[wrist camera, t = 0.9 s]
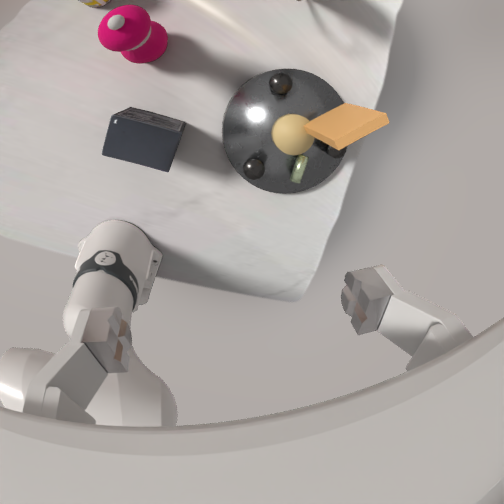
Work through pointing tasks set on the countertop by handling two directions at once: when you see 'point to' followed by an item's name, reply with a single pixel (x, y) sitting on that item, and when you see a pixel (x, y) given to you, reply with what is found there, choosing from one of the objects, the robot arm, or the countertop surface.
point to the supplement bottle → (94, 3)
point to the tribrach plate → (260, 126)
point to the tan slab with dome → (326, 128)
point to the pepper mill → (133, 34)
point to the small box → (143, 138)
